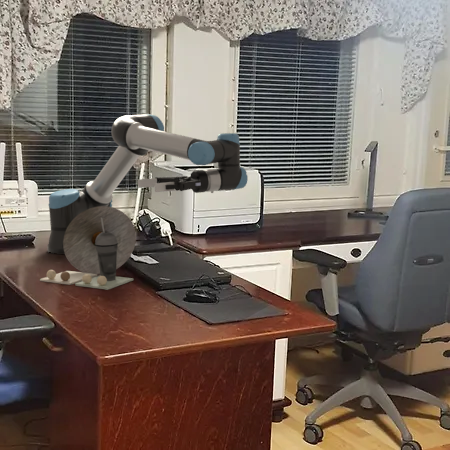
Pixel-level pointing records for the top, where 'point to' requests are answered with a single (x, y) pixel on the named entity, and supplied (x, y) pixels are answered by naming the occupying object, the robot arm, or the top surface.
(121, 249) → the disc
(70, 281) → the cream card
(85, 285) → the sage card
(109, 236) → the beverage cup
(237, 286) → the top surface
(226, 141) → the robot arm
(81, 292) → the top surface
